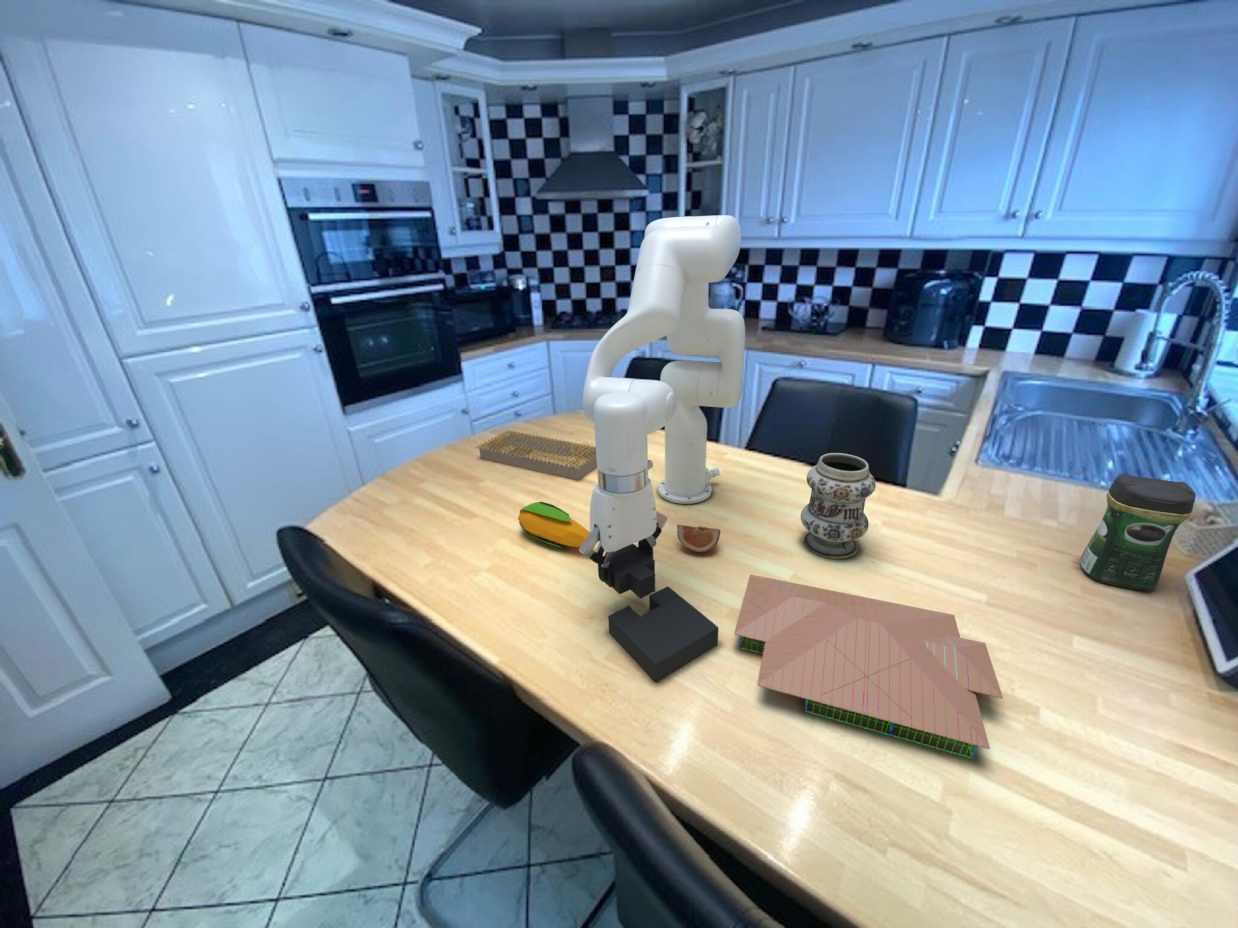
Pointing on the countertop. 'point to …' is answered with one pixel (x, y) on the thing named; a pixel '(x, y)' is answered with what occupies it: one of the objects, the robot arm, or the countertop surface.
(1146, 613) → the countertop surface
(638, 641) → the notch pad
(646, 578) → the tab pad
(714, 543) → the fruit slice
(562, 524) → the corn
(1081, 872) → the countertop surface
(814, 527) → the apothecary jar
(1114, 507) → the coffee jar
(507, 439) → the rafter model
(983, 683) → the house
